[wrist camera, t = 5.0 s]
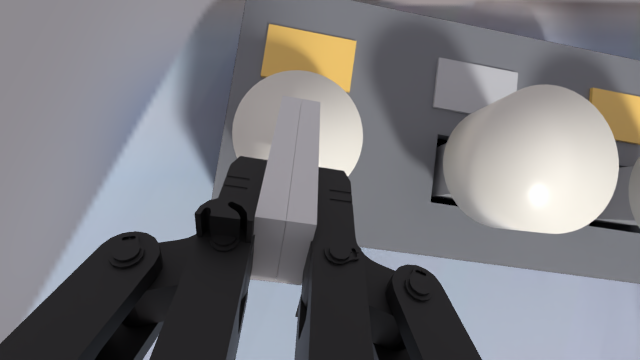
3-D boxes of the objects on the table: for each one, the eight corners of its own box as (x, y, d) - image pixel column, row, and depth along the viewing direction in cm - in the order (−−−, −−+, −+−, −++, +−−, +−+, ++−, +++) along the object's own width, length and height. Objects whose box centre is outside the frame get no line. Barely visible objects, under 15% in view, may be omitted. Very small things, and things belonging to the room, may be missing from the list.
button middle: (497, 138, 21) (622, 98, 13) (488, 229, 21) (615, 243, 13) (410, 123, 21) (487, 72, 13) (399, 216, 20) (473, 222, 12)
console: (573, 106, 29) (686, 68, 21) (562, 264, 28) (679, 289, 20) (259, 47, 26) (249, -24, 18) (231, 220, 25) (205, 226, 17)
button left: (340, 124, 23) (370, 82, 15) (329, 207, 23) (354, 207, 15) (257, 110, 23) (243, 59, 15) (243, 194, 22) (221, 188, 14)
